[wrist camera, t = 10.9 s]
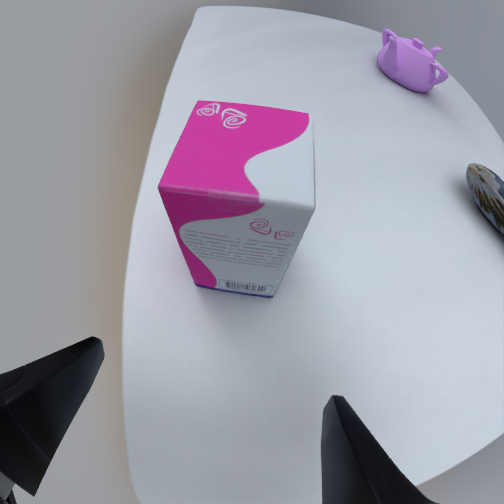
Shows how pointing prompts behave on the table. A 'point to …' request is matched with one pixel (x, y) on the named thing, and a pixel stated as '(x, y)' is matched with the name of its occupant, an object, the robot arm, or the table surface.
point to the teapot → (410, 62)
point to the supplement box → (240, 194)
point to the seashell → (487, 193)
